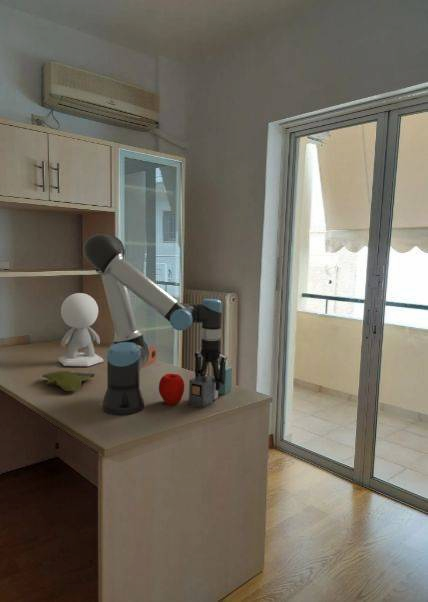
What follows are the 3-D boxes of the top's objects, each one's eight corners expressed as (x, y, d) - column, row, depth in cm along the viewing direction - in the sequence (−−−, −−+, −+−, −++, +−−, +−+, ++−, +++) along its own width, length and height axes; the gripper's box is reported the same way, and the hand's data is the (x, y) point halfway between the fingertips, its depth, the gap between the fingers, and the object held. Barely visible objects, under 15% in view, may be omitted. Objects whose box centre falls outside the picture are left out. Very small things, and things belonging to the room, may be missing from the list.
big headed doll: (92, 354, 244) (92, 290, 240) (107, 364, 225) (107, 295, 221) (55, 358, 233) (54, 291, 229) (67, 368, 214) (66, 296, 210)
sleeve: (203, 409, 166) (204, 382, 165) (188, 406, 169) (189, 379, 168) (212, 404, 172) (213, 378, 171) (198, 401, 175) (198, 375, 174)
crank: (143, 358, 239) (144, 344, 238) (157, 360, 236) (157, 345, 235) (123, 367, 220) (123, 351, 219) (137, 369, 217) (137, 353, 217)
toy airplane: (110, 386, 190) (110, 375, 189) (61, 397, 175) (61, 385, 174) (80, 372, 210) (80, 361, 209) (33, 380, 195) (33, 369, 194)
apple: (152, 403, 171) (153, 372, 169) (172, 397, 178) (172, 368, 177) (170, 410, 164) (170, 378, 163) (189, 404, 171) (190, 373, 170)
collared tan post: (201, 397, 165) (201, 385, 165) (190, 395, 168) (190, 383, 167) (221, 386, 179) (221, 375, 179) (211, 384, 182) (211, 373, 181)
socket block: (225, 396, 182) (226, 370, 180) (212, 393, 185) (213, 367, 183) (231, 392, 187) (232, 367, 185) (218, 390, 189) (219, 364, 188)
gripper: (235, 340, 172) (233, 398, 175) (196, 334, 181) (194, 389, 184) (227, 343, 166) (224, 403, 169) (186, 337, 174) (185, 394, 177)
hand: (209, 396), depth 176 cm, fingers closed on collared tan post, 5 cm apart
